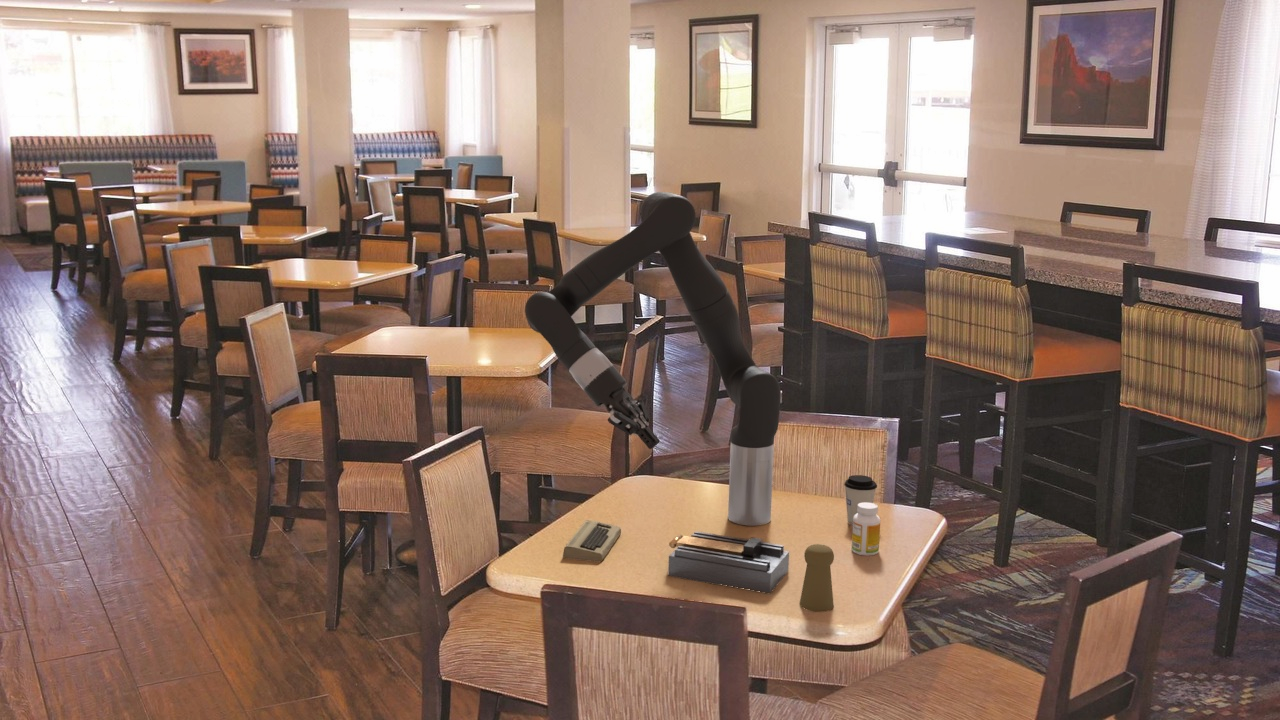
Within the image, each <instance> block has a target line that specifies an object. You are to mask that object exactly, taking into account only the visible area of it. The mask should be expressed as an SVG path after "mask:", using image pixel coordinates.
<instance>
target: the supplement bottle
mask: <svg viewBox="0 0 1280 720" xmlns="http://www.w3.org/2000/svg"><path fill="white" fill-rule="evenodd" d="M878 507H879V506H878V504H876V503H875V502H873V503H868V502H863V503H859V504H858V506H857V512H858V513H857V514H855V515H854V517H853V526H852V536H851V551H852V552H854V553H855V554H857V555H860V556H875V555H877V554H878V553H879V551H880V536H881V535H880V532H881V518H880V516H879V515H877V514H878V511H879V509H878Z"/></svg>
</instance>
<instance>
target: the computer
mask: <svg viewBox="0 0 1280 720" xmlns="http://www.w3.org/2000/svg"><path fill="white" fill-rule="evenodd" d="M621 534H622V528H621V527H620V526H618V525H614V524H610V523H605V522H601V521H596V520H585V521H584V522H583V524H582V525H580V527H579V528H578V530H577V531H576V532H575V533H574V534H573V536H572V537H571V538H570V540H569V541H568V542H567V543H566V544H565V546H564V548H563V553H562V557H563V559H567V560H568V559H569V560H576V561H579V560H580V561H587V562H597V563H601V562H603V560H604V558H606V556H607V554H608V553H609V551H610V550H611V548H612V547H613V546H614V544H615V542H616V541H617V540H618V539H619V537H620V535H621ZM617 538H618V539H617Z"/></svg>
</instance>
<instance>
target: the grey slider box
mask: <svg viewBox="0 0 1280 720" xmlns="http://www.w3.org/2000/svg"><path fill="white" fill-rule="evenodd" d="M689 537H696V538H702V539H709V540H715V541H722V542H728V543H735V544H741V545H744V546H743V556H737V555H731V554H725V553H719V552H714V551H708V550H702V549H696V548H690V547H684V546H678V547H676V548H674V550H673V551H672V552H671V553H670V554H669V555H668V567H667V568H668V570H667V571H668V572H667V573H668V574H667V576H668V577H674V578H680V579H684V580H689V581H690V580H691V581H695V582H701V583H706V582H708V584H712V583H713V585H717V584H722V585H721V586H723V585H727V586H726V587H728V586H733V587H732V588H734V587H738V588H737V589H739V588H744V589H743V590H745V589H750V590H749V591H751V590H754V591H753V592H756V591H760V592H759V593H762V592H765V593H764V594H767V593H770V594H771V593H772V592H773V591H774V590H775V589H776V587H777V586H778V585H779V583H780V582H781V581H782V580H783V579H784V577H786V575H787V574H788V572H789V565H790V551H787V550H785V549H784V548H785V545H784V544H776V543H771V542H764V541H763V539H762V538H759V537H750V539H746V538H740V537H733V536H728V535H720V534H716V533H715V534H714V533H708V532H702V531H696V530H695V531H694V532H693V533H692V534H691V535H690V536H689ZM777 584H778V585H777ZM773 589H774V590H773ZM772 590H773V591H772Z"/></svg>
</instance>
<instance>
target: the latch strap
mask: <svg viewBox="0 0 1280 720" xmlns="http://www.w3.org/2000/svg"><path fill="white" fill-rule="evenodd" d="M668 544H669V545H668V546H669V547H670V548H671V549H676V548H678V546H684V547H690V548H696V549H702V550H708V551H714V552H719V553H725V554H731V555H737V556H743V546H744V545H741V544H735V543H728V542H722V541H715V540H709V539H702V538H696V537H690V536H688V535H682V534H678V535H676V536H675V537H674V538H673V539H672V540H671V541H670V542H669V543H668Z"/></svg>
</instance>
